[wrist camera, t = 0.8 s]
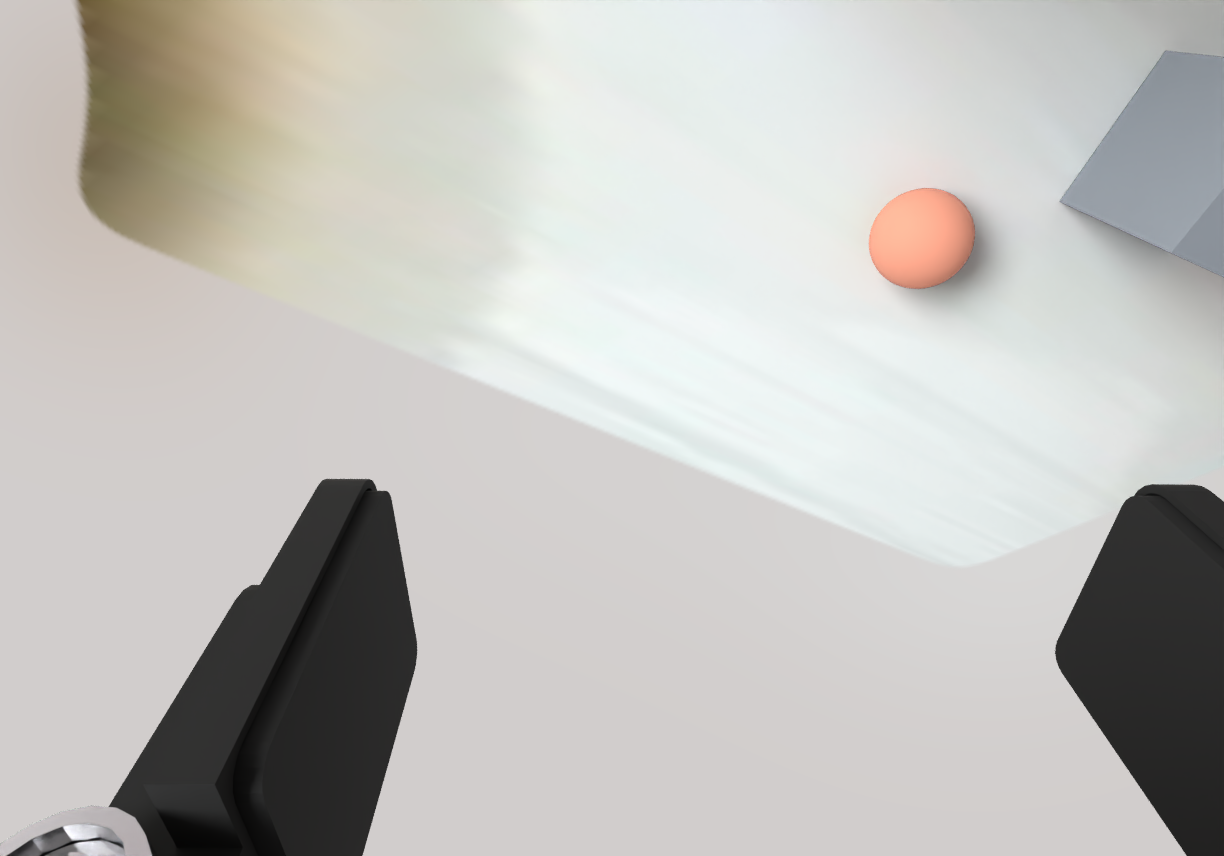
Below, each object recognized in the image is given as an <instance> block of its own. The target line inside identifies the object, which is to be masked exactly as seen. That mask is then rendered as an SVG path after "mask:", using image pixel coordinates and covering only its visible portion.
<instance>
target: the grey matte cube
mask: <svg viewBox="0 0 1224 856" xmlns="http://www.w3.org/2000/svg"><path fill="white" fill-rule="evenodd" d="M1060 202H1061V203H1064V204H1066V205H1068V206H1070V207H1072V208H1074V209H1077V210H1079V211H1081V212H1083V213H1085V214H1087V215H1090V216H1092V217H1094V218H1096V219H1098V220H1100V221H1103V222H1105V223H1107V224H1109V225H1111V226H1113V227H1116V228H1118V229H1120V230H1122V231H1124V232H1126V233H1128V234H1131V235H1133V236H1135V237H1137V238H1139V239H1141V240H1144V241H1146V242H1148V243H1150V244H1152V245H1154V246H1157V247H1159V248H1161V249H1163V250H1165V251H1167V252H1170V253H1172V254H1174V255H1176V256H1178V257H1181V258H1183V259H1185V260H1187V261H1189V262H1191V263H1194V264H1196V265H1198V266H1200V267H1202V268H1205V269H1207V270H1209V271H1211V272H1213V273H1216V274H1218V275H1220V276H1222V277H1224V57H1219V56H1209V55H1200V54H1191V53H1181V52H1172V51H1165V52H1164V54H1163V55H1162V57H1161V58H1160V59H1159V61H1158V62H1157V64H1156V65H1155V67H1154V68H1153V69H1152V71H1151V72H1150V74H1149V75H1148V77H1147V78H1146V79H1145V81H1144V82H1143V84H1142V85H1141V86H1140V88H1139V89H1138V91H1137V92H1136V94H1135V95H1134V96H1133V98H1132V99H1131V101H1130V102H1129V104H1128V105H1127V106H1126V108H1125V109H1124V111H1123V112H1122V113H1121V115H1120V116H1119V118H1118V119H1117V121H1116V122H1115V123H1114V125H1113V126H1112V128H1111V129H1110V131H1109V132H1108V133H1107V135H1106V136H1105V138H1104V139H1103V140H1102V142H1101V143H1100V145H1099V146H1098V148H1097V149H1096V150H1095V152H1094V153H1093V155H1092V156H1091V158H1090V159H1089V160H1088V162H1087V163H1086V165H1085V166H1084V167H1083V169H1082V170H1081V172H1080V173H1079V175H1078V176H1077V177H1076V179H1075V180H1074V182H1073V183H1072V185H1071V186H1070V187H1069V189H1068V190H1067V192H1066V193H1065V194H1064V196H1063V197H1062V199H1061V200H1060Z"/></svg>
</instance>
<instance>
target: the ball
mask: <svg viewBox="0 0 1224 856" xmlns="http://www.w3.org/2000/svg"><path fill="white" fill-rule="evenodd" d="M974 239H975V228H974V223H973V219H972V216H971V214H970V212H969V210H968V209H967V207H966V206H965V205H964V204H963V202H962V201H960V200H959V199H958V198H957V197H955V196H954V195H952V194H950V193H948V192H945V191H942V190H939V189H932V188H922V189H916V190H912V191H909V192H906V193H903V194H901V195H899V196H898V197H896V198H894V199H893V200H892V201H890V202H889V203H888V204H887V205H886V206H885V207H884V208H883V209H882V210H881V212H880V213H879V214H878V216H877V217H876V219H875V221H874V223H873V226H872V228H871V232H870V238H869V250H870V255H871V258H872V261H873V263H874V265H875V267H876V268H877V270H878V271H879V272H880V274H881V275H882V276H883V277H885V278H886V279H887V280H889V281H890V282H892V283H894V284H896V285H899V286H902V287H905V288H913V289H921V288H928V287H932V286H935V285H938V284H940V283H943V282H944V281H946V280H948V279H949V278H951V277H952V276H954V275H955V274H956V273H957V272H958V271H959V270H960V269H961V268H962V267H963V265H964V264H965V263H966V261H967V259H968V258H969V256H970V254H971V251H972V248H973V244H974Z"/></svg>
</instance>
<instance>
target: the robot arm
mask: <svg viewBox="0 0 1224 856" xmlns="http://www.w3.org/2000/svg"><path fill="white" fill-rule="evenodd" d="M1055 654H1056V660H1057V663H1058V666H1059V668H1060V670H1061V672H1062V674H1063V675H1064V677H1065V678H1066V680H1067V681H1068V682H1069V684H1070V685H1071V687H1072V688H1073V690H1074V691H1075V693H1076V694H1077V696H1078V697H1079V699H1080V700H1081V701H1082V703H1083V704H1084V706H1085V707H1086V709H1087V710H1088V712H1089V713H1090V715H1091V716H1092V718H1093V719H1094V720H1095V722H1096V723H1097V725H1098V726H1099V728H1100V729H1101V731H1102V732H1103V734H1104V735H1105V736H1106V738H1107V739H1108V741H1109V742H1110V744H1111V745H1112V747H1113V748H1114V750H1115V751H1116V753H1117V754H1118V755H1119V757H1120V759H1121V760H1122V761H1123V763H1124V764H1125V766H1126V767H1127V769H1128V770H1129V772H1130V773H1131V775H1132V776H1133V778H1134V779H1135V780H1136V782H1137V783H1138V785H1139V786H1140V788H1141V789H1142V791H1143V792H1144V794H1145V795H1146V797H1147V798H1148V799H1149V801H1150V802H1151V804H1152V805H1153V806H1154V808H1155V810H1156V811H1157V813H1158V814H1159V816H1160V817H1161V819H1162V820H1163V821H1164V823H1165V824H1166V826H1167V827H1168V829H1169V830H1170V832H1171V833H1172V835H1173V836H1174V838H1175V839H1176V841H1177V842H1178V843H1179V845H1180V846H1181V847H1182V849H1183V851H1184V852H1185V854H1186V855H1187V856H1224V502H1223V501H1222V500H1221V499H1220V498H1218V497H1217V496H1216V495H1215V494H1213V493H1212V492H1211V491H1209V490H1208V489H1206V488H1204V487H1202V486H1198V485H1156V484H1152V485H1147V486H1144V487H1142V488H1141V489H1140V490H1138V491H1137V493H1136V494H1135V495H1134V496H1133V497H1130V498H1129V499H1127V500H1126V501H1125V502H1124V504H1123V505H1122V507H1121V509H1120V512H1119V514H1118V516H1117V518H1116V520H1115V522H1114V524H1113V526H1112V528H1111V530H1110V532H1109V535H1108V536H1107V539H1106V541H1105V543H1104V545H1103V547H1102V549H1101V551H1100V553H1099V555H1098V558H1097V560H1096V561H1095V564H1094V566H1093V568H1092V570H1091V572H1090V574H1089V576H1088V578H1087V580H1086V582H1085V584H1084V587H1083V589H1082V591H1081V593H1080V595H1079V597H1078V599H1077V601H1076V603H1075V605H1074V607H1073V610H1072V611H1071V614H1070V616H1069V618H1068V620H1067V622H1066V624H1065V626H1064V628H1063V630H1062V632H1061V634H1060V636H1059V639H1058V641H1057V644H1056V651H1055ZM416 658H417V641H416V634H415V629H414V623H413V618H412V612H411V606H410V601H409V595H408V590H407V584H406V578H405V572H404V567H403V561H402V556H401V551H400V544H399V539H398V533H397V528H396V522H395V516H394V511H393V505H392V500H391V496H390V494H389V493H388V492H387V491H377V489H376V486H375V484H374V482H373V481H372V480H370V479H325V480H323V481H322V482H321V483H320V484H319V485H318V487H317V489H316V490H315V492H314V494H313V496H312V497H311V499H310V501H309V502H308V504H307V506H306V507H305V509H304V511H303V512H302V514H301V516H300V518H299V519H298V521H297V523H296V524H295V526H294V528H293V530H292V531H291V533H290V535H289V536H288V538H287V540H286V541H285V543H284V545H283V546H282V548H281V550H280V552H279V553H278V555H277V557H276V558H275V560H274V562H273V563H272V565H271V567H270V569H269V570H268V572H267V574H266V576H265V577H264V579H263V581H262V582H261V584H260V585H251V586H249V587H248V588H246V589H245V590H243V591H242V592H241V594H240V595H239V596H238V598H237V599H236V600H235V602H234V603H233V605H232V607H231V608H230V610H229V611H228V613H227V615H226V616H225V618H224V620H223V621H222V623H221V625H220V626H219V628H218V629H217V631H216V633H215V634H214V636H213V637H212V639H211V641H210V642H209V644H208V646H207V647H206V649H205V650H204V653H203V654H202V656H201V657H200V659H199V660H198V662H197V664H196V665H195V667H194V668H193V670H192V672H191V673H190V675H189V677H188V678H187V680H186V681H185V683H184V685H183V686H182V688H181V690H180V691H179V693H178V695H177V696H176V698H175V699H174V701H173V703H172V704H171V706H170V708H169V709H168V711H167V713H166V714H165V716H164V717H163V719H162V721H161V723H160V724H159V725H158V727H157V729H156V730H155V732H154V734H153V735H152V737H151V739H150V740H149V742H148V743H147V745H146V747H145V748H144V750H143V752H142V753H141V755H140V757H139V758H138V760H137V761H136V763H135V765H134V766H133V768H132V770H131V771H130V773H129V775H128V776H127V778H126V779H125V781H124V783H123V784H122V786H121V788H120V789H119V791H118V793H117V794H116V796H115V797H114V799H113V800H112V802H111V804H110V806H109V807H102V806H87V807H82V808H77V809H72V810H67V811H62V812H59V813H57V814H55V815H52V816H50V817H47V818H45V819H43V820H40V821H38V822H36V823H34V824H31V825H29V826H27V827H26V828H24V829H22V830H21V831H19V832H18V833H16V834H15V835H13V836H12V837H10V838H8V839H7V840H5V841H4V842H2V843H0V856H362V855H363V852H364V848H365V844H366V841H367V837H368V834H369V830H370V827H371V823H372V820H373V816H374V813H375V809H376V805H377V802H378V798H379V795H380V791H381V788H382V784H383V781H384V777H385V773H386V770H387V766H388V763H389V759H390V756H391V752H392V749H393V745H394V742H395V738H396V734H397V731H398V727H399V724H400V720H401V717H402V713H403V710H404V706H405V702H406V698H407V695H408V692H409V688H410V685H411V681H412V677H413V674H414V670H415V666H416Z"/></svg>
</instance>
